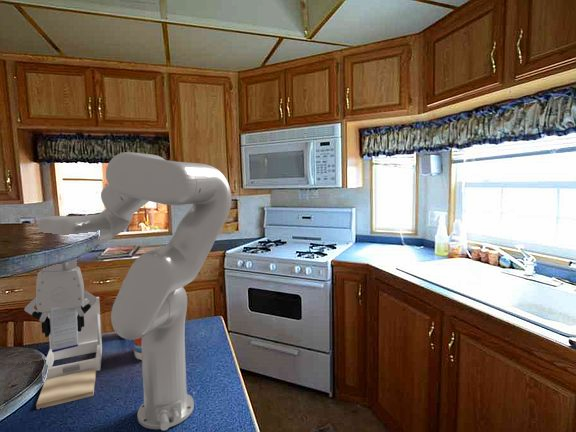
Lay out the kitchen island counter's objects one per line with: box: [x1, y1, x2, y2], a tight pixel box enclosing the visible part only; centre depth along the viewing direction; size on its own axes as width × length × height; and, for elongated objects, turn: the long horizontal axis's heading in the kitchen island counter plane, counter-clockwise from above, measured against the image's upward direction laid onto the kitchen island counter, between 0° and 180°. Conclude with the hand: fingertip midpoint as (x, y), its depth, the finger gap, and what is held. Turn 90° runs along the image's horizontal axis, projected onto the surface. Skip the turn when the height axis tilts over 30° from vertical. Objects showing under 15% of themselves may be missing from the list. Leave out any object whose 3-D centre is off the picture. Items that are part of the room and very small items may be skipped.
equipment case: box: [45, 296, 103, 379], centre depth 103 cm, size 16×14×18 cm
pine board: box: [35, 369, 97, 410], centre depth 91 cm, size 12×12×1 cm
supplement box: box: [50, 307, 78, 352], centre depth 90 cm, size 6×6×12 cm
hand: (64, 331), depth 90 cm, fingers closed on supplement box, 6 cm apart
